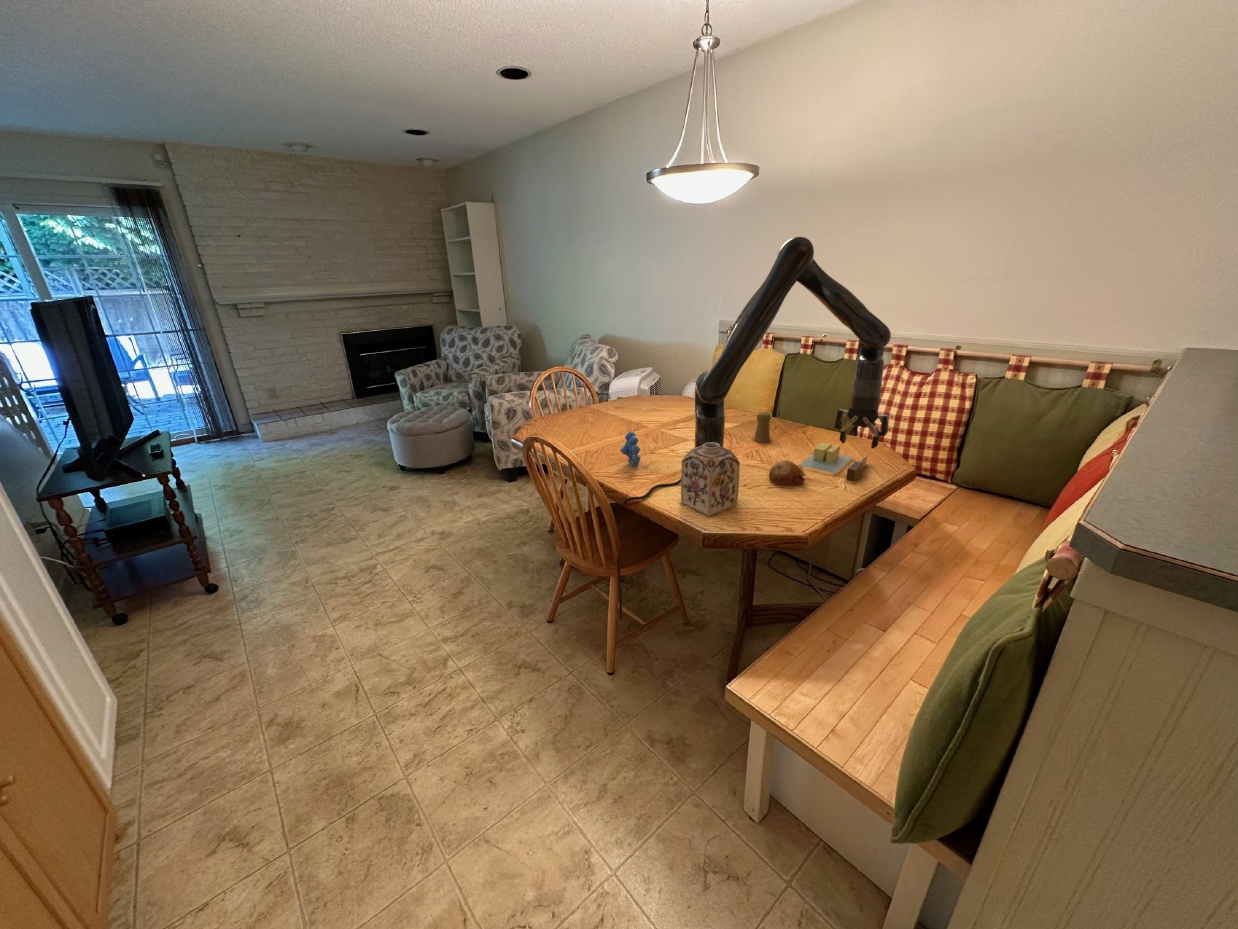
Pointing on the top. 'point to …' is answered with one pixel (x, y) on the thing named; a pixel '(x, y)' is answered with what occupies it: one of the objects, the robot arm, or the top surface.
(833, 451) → the butter slice
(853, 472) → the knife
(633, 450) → the grapes
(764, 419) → the cork
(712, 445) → the decorative jar
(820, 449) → the butter
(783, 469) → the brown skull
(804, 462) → the butter dish
